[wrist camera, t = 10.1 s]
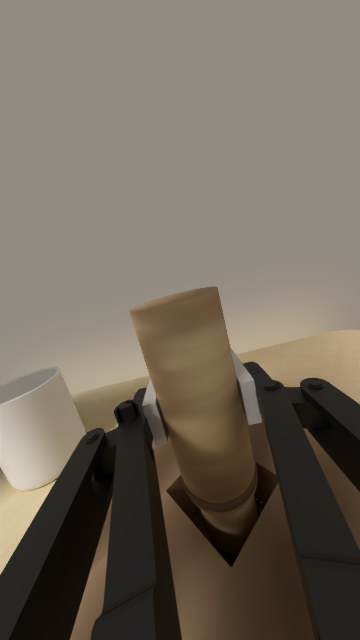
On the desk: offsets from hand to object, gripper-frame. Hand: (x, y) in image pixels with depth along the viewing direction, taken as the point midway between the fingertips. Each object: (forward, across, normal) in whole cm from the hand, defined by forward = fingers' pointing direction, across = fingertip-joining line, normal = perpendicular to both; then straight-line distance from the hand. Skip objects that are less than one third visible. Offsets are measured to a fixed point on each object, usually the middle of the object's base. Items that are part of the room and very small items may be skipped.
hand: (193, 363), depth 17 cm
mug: (+7, -21, -11) cm, 24 cm away
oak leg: (-5, 0, -10) cm, 11 cm away
